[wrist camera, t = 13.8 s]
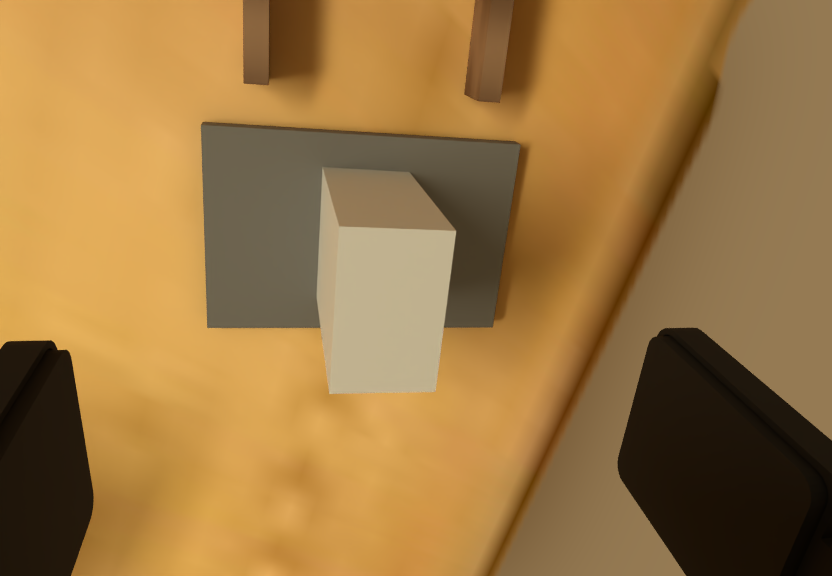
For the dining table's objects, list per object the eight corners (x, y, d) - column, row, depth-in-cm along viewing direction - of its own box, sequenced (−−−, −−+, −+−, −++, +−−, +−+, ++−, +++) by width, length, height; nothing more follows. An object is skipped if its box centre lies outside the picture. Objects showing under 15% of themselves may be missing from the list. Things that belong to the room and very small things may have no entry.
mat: (202, 121, 35) (200, 124, 35) (515, 141, 39) (520, 144, 38) (208, 320, 40) (207, 327, 39) (488, 320, 44) (492, 327, 43)
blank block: (322, 166, 37) (338, 226, 27) (409, 172, 38) (456, 230, 28) (316, 297, 40) (329, 393, 30) (396, 298, 41) (435, 391, 31)
